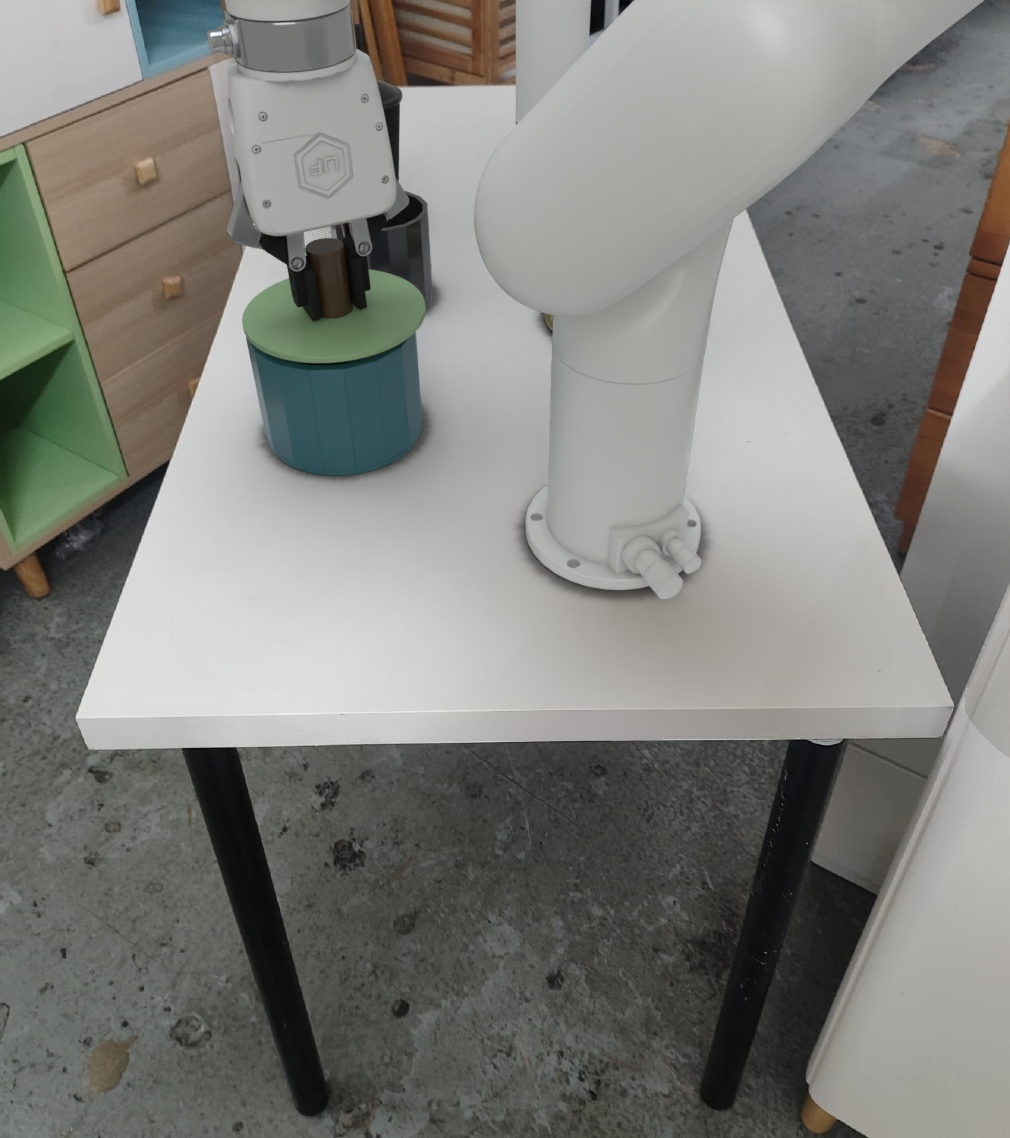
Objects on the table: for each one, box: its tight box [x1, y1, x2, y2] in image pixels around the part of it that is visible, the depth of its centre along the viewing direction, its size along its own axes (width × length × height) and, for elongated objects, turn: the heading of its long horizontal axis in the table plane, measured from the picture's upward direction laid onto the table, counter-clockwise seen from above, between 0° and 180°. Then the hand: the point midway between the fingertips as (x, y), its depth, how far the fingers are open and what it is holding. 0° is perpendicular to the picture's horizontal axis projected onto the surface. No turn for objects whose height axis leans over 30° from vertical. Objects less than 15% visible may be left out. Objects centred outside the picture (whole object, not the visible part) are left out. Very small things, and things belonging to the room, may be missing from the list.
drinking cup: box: [353, 23, 403, 183], centre depth 105 cm, size 8×8×20 cm
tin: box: [245, 331, 423, 477], centre depth 81 cm, size 13×13×10 cm
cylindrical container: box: [515, 0, 592, 126], centre depth 104 cm, size 7×7×25 cm
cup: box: [329, 190, 434, 309], centre depth 97 cm, size 9×9×9 cm
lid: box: [241, 237, 427, 363], centre depth 75 cm, size 14×14×6 cm
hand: (333, 304), depth 76 cm, fingers closed on lid, 2 cm apart
